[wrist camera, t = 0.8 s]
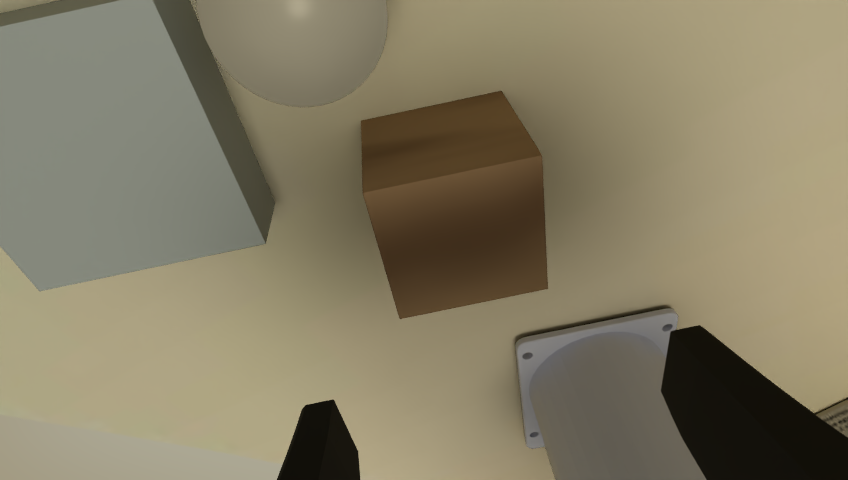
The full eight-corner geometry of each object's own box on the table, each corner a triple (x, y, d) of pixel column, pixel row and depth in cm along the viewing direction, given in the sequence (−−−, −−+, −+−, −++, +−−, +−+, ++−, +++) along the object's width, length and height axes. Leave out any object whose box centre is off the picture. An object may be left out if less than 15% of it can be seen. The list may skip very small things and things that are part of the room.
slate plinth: (276, 197, 20) (265, 243, 18) (76, 239, 20) (39, 291, 18) (182, -29, 15) (149, -7, 13) (-80, 29, 15) (-160, 61, 13)
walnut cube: (511, 207, 21) (547, 288, 17) (391, 232, 21) (399, 319, 17) (500, 89, 18) (541, 155, 14) (361, 119, 18) (362, 192, 14)
